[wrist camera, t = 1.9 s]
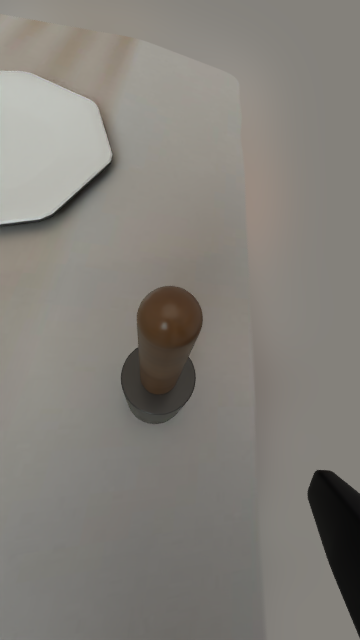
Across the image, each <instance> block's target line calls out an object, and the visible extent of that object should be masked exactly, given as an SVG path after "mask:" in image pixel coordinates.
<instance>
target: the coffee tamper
mask: <svg viewBox="0 0 360 640" xmlns="http://www.w3.org/2000/svg"><path fill="white" fill-rule="evenodd" d="M202 322H203V316H202V310H201V307H200V305H199V303H198V301H197V300H196V298H195V297H194V296H193V295H192V294H191V293H189V292H188V291H186V290H185V289H182V288H180V287H175V286H164V287H160V288H157V289H155V290H153V291H151V292H150V293H149V294H148V295H147V296H146V297H145V298H144V299H143V300H142V302H141V304H140V306H139V308H138V312H137V333H138V348H136V349H135V350H134V351H133V352H132V353H131V354H130V355H129V356H128V358H127V359H126V361H125V363H124V365H123V368H122V373H121V384H122V389H123V391H124V394H125V397H126V400H127V403H128V406H129V408H130V410H131V411H132V413H133V414H134V415H135V416H136V417H137V418H138V419H140V420H142V421H144V422H147V423H152V424H158V423H163V422H166V421H168V420H170V419H171V418H172V417H174V416H175V415H176V414H177V413H178V411H179V410H180V409H181V408H182V407H183V406H184V404H185V403H186V402H187V401H188V400H189V398H190V397H191V395H192V393H193V390H194V386H195V379H196V378H195V369H194V366H193V364H192V361H191V360H190V358H189V354H190V352H191V350H192V348H193V346H194V344H195V342H196V339H197V337H198V335H199V333H200V331H201V327H202Z"/></svg>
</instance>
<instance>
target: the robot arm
mask: <svg viewBox="0 0 360 640" xmlns="http://www.w3.org/2000/svg"><path fill="white" fill-rule="evenodd" d="M308 500H309V503H310V506H311V509H312V513H313V516H314V519H315V522H316V525H317V528H318V531H319V534H320V537H321V540H322V544H323V546H324V550H325V553H326V556H327V559H328V561H329V564H330V567H331V569H332V572H333V575H334V577H335V579H336V581H337V584H338V587H339V589H340V591H341V594H342V596H343V599H344V601H345V604H346V606H347V608H348V611H349V613H350V616H351V618H352V620H353V623H354V625H355V628H356V630H357V633H358V635H359V637H360V493H358V492H357V491H356V490H354V489H353V488H352V487H351V486H350V485H348V484H347V483H346V482H345V481H343V480H342V479H341V478H340V477H338V476H337V475H336V474H335V473H333V472H332V471H327V470H317V471H316V472H315V473H314V475H313V478H312V480H311V483H310V486H309V489H308Z"/></svg>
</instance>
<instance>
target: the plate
mask: <svg viewBox="0 0 360 640" xmlns="http://www.w3.org/2000/svg"><path fill="white" fill-rule="evenodd" d="M112 158H113V155H112V151H111V148H110V145H109V141H108V138H107V135H106V131H105V128H104V125H103V121H102V118H101V115H100V111H99V108H98V106H97V105H96V104H95V103H94V102H93V101H92V100H90V99H88V98H85V97H83V96H81V95H79V94H77V93H74V92H72V91H70V90H68V89H65V88H63V87H61V86H59V85H57V84H54V83H52V82H50V81H48V80H45V79H43V78H41V77H39V76H37V75H34V74H32V73H29V72H24V71H0V226H6V225H15V224H23V223H31V222H39V221H42V220H45V219H47V218H49V217H52V216H53V215H54V214H56V213H57V212H58V211H59V210H60V209H61V208H62V207H63V206H64V205H66V204H67V203H68V202H69V201H70V200H71V199H72V198H73V197H74V196H75V195H77V194H78V193H79V192H80V191H81V190H82V189H83V188H84V187H85V186H87V185H88V184H89V183H90V182H91V181H92V180H93V179H94V178H95V177H97V176H98V175H99V174H100V173H101V172H102V171H103V170H104V169H105V168H107V167H108V166H109V165H110V164H111V161H112Z"/></svg>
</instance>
